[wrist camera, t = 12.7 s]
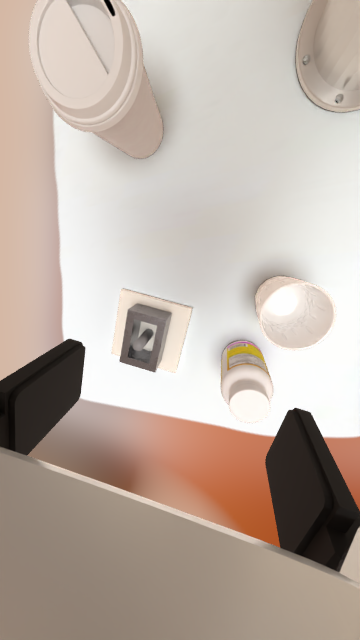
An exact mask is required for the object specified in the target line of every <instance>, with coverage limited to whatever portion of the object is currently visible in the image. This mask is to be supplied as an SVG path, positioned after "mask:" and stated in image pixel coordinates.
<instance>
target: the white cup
mask: <svg viewBox="0 0 360 640" xmlns="http://www.w3.org/2000/svg"><path fill="white" fill-rule="evenodd" d="M255 303H256V305H255V306H256V312H257V316H258V320H259V323H260V327H261V330H262V332H263V334H264V336H265V337H266V338H267V339H268V340H269V341H270V342H271V343H272V344H274V345H275V346H277V347H279V348H282V349H286V350H303V349H307V348H310V347H312V346H315V345H316V344H318V343H320V342H321V341H322V340H323V339H325V338H326V337H327V335H328V334H329V333H330V331H331V330H332V328H333V326H334V323H335V319H336V308H335V304H334V302H333V300H332V298H331V296H330V295H329V294H328V293H327V292H326V291H325V290H324V289H322V288H321V287H319V286H317V285H314V284H311V283H308V282H305V281H302V280H299V279H296V278H291V277H285V276H276V277H273V278H270V279H267V280H266V281H265V282H264V283H263V284H261V285H260V286H259V288H258V290H257V293H256V295H255Z"/></svg>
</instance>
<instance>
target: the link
mask: <svg viewBox="0 0 360 640" xmlns="http://www.w3.org/2000/svg"><path fill="white" fill-rule="evenodd" d="M171 316H172V313H171V312H168V311H164V310H160V309H157V308H153V307H150V306H146V305H142V304H139V303H137V304H135V305H134V306H132V307H131V308H129V309H128V311H127V318H126V324H125V330H124V337H123V343H122V349H121V356H120V362H122V363H126V364H129V365H132V366H135V367H139V368H142V369H145V370H149V371H152V372H156V370H157V368H158V366H159V364H160V362H161V360H162V356H163V351H164V347H165V343H166V338H167V334H168V329H169V325H170V321H171ZM141 321H142V322H146V323H149V324H153V325H156V326H157V329H156V334H155V338H154V343H153V348H152V351H148V350H145V349H142V350H141V351H136V350H134V348H133V343H134V342H135V341H136V340H137V339H138V336H139V330H140V325H141Z"/></svg>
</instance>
